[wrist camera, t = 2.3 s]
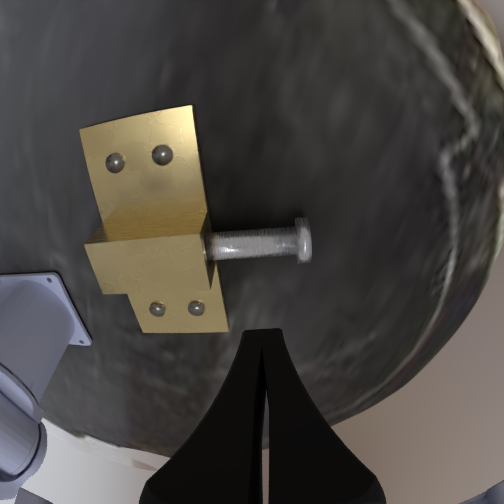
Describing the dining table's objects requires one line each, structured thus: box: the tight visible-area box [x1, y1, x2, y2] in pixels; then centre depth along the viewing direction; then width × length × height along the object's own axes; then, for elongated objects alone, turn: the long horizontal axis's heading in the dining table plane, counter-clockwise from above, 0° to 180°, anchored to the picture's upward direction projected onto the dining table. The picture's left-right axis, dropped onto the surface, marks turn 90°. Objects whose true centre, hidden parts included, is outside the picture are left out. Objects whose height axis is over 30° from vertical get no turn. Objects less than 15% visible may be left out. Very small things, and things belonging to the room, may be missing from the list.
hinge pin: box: [203, 217, 312, 263], centre depth 18 cm, size 9×3×3 cm, turn 95°
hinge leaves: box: [79, 104, 229, 333], centre depth 18 cm, size 7×16×3 cm, turn 5°
